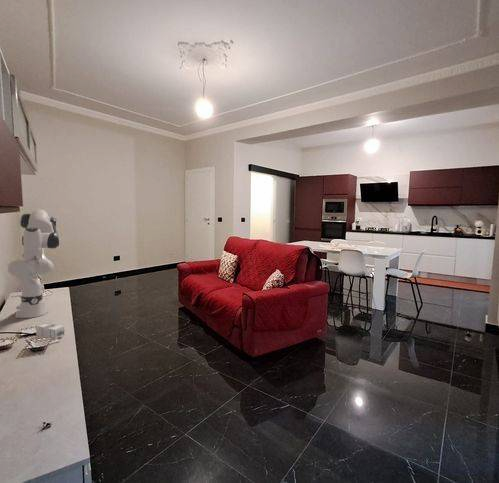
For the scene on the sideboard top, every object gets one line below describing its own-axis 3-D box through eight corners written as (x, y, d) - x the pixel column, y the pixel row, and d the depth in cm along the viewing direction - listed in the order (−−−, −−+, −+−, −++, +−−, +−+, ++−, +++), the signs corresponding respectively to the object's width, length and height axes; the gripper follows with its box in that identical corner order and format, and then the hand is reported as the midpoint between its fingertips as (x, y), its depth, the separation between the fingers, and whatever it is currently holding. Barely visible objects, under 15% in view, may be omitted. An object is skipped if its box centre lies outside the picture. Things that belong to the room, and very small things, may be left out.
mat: (26, 339, 166) (26, 338, 166) (50, 333, 176) (50, 332, 175) (34, 348, 156) (34, 347, 156) (59, 341, 165) (59, 340, 165)
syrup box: (36, 335, 170) (56, 339, 167) (35, 326, 170) (55, 329, 166) (45, 331, 176) (64, 335, 172) (44, 322, 175) (64, 325, 172)
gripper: (44, 257, 168) (45, 281, 169) (34, 253, 181) (35, 275, 182) (31, 258, 163) (32, 282, 164) (22, 253, 176) (22, 276, 177)
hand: (33, 278), depth 173 cm, fingers closed
